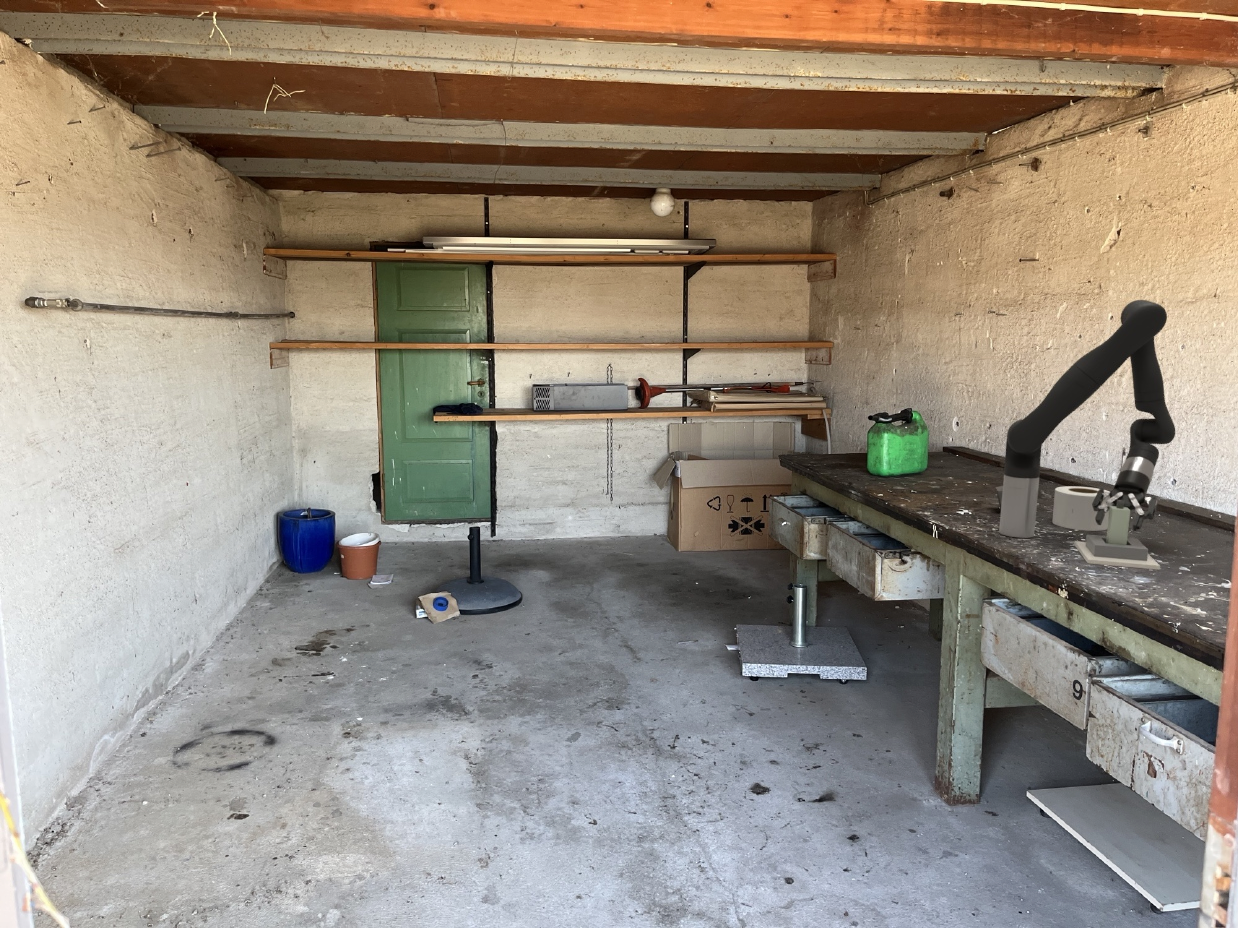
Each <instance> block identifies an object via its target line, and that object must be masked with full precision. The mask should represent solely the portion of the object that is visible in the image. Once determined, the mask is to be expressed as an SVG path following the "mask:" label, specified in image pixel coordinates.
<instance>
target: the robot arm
mask: <svg viewBox="0 0 1238 928" xmlns="http://www.w3.org/2000/svg"><path fill="white" fill-rule="evenodd" d="M1167 320H1168V313H1167V310H1166V309H1165V307H1163V305H1161V304H1158V303H1156V302H1154V301H1150V300H1147V299H1136V300H1133V301H1131V302H1129V303H1128V304H1126V305H1125V307H1124V308H1123V309H1122V311H1121V314H1120V323H1121V325H1120V326H1119V327H1118V329H1116V331H1115V332H1114V333H1113V334H1111V336H1110V337H1109V338H1107V339H1106V340H1105V341H1104V342H1102V343H1101V344H1099V345H1098V346H1096V347H1095V348H1093V349H1091V350H1090V351H1088V352H1087V353H1086V354H1083V356H1081V357H1080V358H1079V359H1077V360H1076V361H1074V363H1073V364H1072V365H1071V366H1070V367H1069V368H1068V369H1067V370H1066V371H1065V372H1064V373H1063V374H1062V375H1061V376H1060V378H1059V379H1057V381H1056V382H1055V384H1054V385H1053V386H1052V388H1050V390H1049V392H1048V393H1047V395H1046V396H1045V397H1044V399H1043V400H1042V401H1041V402H1040V404H1039V405H1037V407H1035V409H1033V410H1032V411H1031V412H1030V413H1029V414H1028V415H1026V416H1025V417H1024V418H1022V419H1019V420H1016V421H1014V422H1013V423H1011V425H1010V426H1009V427H1008V430H1007V433H1006V442H1005V443H1006V444H1005V457H1004V467H1003V468H1004V471H1003V485H1002V486H1003V493H1002V505H1001V509H1000V519H999V528H998V529H999V530H998V533H999V534H1001V535H1002V536H1006V537H1012V538H1023V539H1025V538H1026V539H1027V538H1033V537H1035V531H1036V530H1035V528H1036V527H1035V526H1036V518H1037V507H1038V506H1037V505H1038V495H1039V487H1040V486H1039V485H1040V484H1039V483H1040V473H1041V456H1042V454H1041V453H1042V446H1043V445H1044V442H1045V441H1046V440H1047V438H1049V436H1050V435H1052V433H1053V432H1054V431H1055V430H1056V428H1057V427H1058V426H1059V425H1060V424H1061V423H1062V422H1063V421H1064V420H1065V419H1067V417H1069V416H1070V415H1071V414H1072V413H1073V412H1074V411H1076V410H1077V409H1078V408H1079V407H1081V405H1083V404H1085V402H1086V401H1087V400H1089V398H1091V397H1092V396H1093V395H1094V394H1095V393H1096V392H1098V390H1099V389H1100V388H1101V387H1102V386H1103V385H1104V384H1105V383H1106V382H1107V380H1109V379H1110V378H1111V377H1112V376H1113V375H1114V374H1115V372H1116V371H1118V370H1119V369H1120V368H1121V367H1122V366H1123V364H1124V363H1125V362H1126V361H1127V360H1128V359H1129V358H1130V359H1129V361H1130V367H1131V375H1132V376H1131V378H1132V385H1133V386H1132V389H1133V398H1134V407H1135V409H1136V410H1137V411H1139V412H1142V413H1146V414H1149V415H1151V416H1152V418H1138V419H1136V420H1134V421H1133V422H1132V423H1131V425H1130V426H1129V436H1130V437H1129V450H1128V453H1127V455H1126V457H1125V460H1124V463H1123V464H1122V466H1121V468H1120V471H1119V474H1118V476H1117V479H1116V481H1115V484H1114V486H1113V488H1112V490H1111V491H1110V492H1106V491H1104V490H1105V489H1103V488H1098V489H1099V491H1098V493H1097V495H1096V497H1095V499H1094V501H1093V503H1092V506H1093V510H1094V511H1098V512H1097V514H1096V517H1095V520H1096V523H1097V524H1098V525H1101V524H1102V521H1103V519H1104V516H1105V513H1107V512H1108V511H1109V509H1110V506H1117V500H1123V501H1124V507H1127V508H1128V509H1129V510H1130V512H1131V511H1134V512H1135V514H1136V517H1135V519H1134V522H1133V523H1132V529H1133V531H1134V532H1138V530H1139V531H1140V530H1141V529H1142V527H1143V524H1144V522H1145V520H1149V521H1150V520H1154V519H1155V515H1156V511H1157V507H1158V504H1159V503H1158V498H1157V496H1156V495H1152V496H1151V497H1150V496H1149V497H1148V496H1146V495H1147V493H1148V490H1149V488H1150V485H1151V482H1152V480H1153V476H1154V472H1155V467H1156V464H1157V462H1158V459H1159V456H1160V451H1159V449H1158V448H1157V446H1155V445H1168V444H1169V443H1171V442H1172V441H1173V440H1174V438H1175V437H1176V427H1175V424H1174V421H1173V419H1172V417H1171V414H1170V412H1169V410H1168V407H1167V404H1166V400H1165V399H1166V398H1165V397H1166V396H1165V387H1164V380H1163V379H1164V378H1163V374H1162V370H1161V367H1160V364H1159V360H1158V357H1157V353H1156V347H1155V337H1156V336H1157V335H1158V334H1160V332H1161V331H1162V330H1163V328H1164V327H1165V326H1166V323H1167ZM1107 497H1110V499H1108V500H1107V501H1106V502H1105V503H1104V504H1102V502H1103V500H1105V499H1106V498H1107ZM1145 503H1147V506H1148V508H1147V511H1144V510H1143V509H1142V507H1141V506H1142V505H1144V504H1145ZM1101 504H1102V505H1101Z"/></svg>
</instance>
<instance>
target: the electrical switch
mask: <svg viewBox="0 0 1238 928" xmlns="http://www.w3.org/2000/svg"><path fill="white" fill-rule="evenodd" d="M995 492H996V496H997V500H998V505H999V509H1000V510H1001V505H1002V493H1003V485H1000V486H996V487H995Z"/></svg>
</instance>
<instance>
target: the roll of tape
mask: <svg viewBox="0 0 1238 928" xmlns="http://www.w3.org/2000/svg"><path fill="white" fill-rule="evenodd" d="M1099 489H1100V488H1096V487H1090V486H1074V485H1073V486H1071V485H1070V486H1069V485H1068V486H1059V487H1056V488H1054V496H1053V497H1054V498H1053V499H1054V500H1053V510H1052V513H1053V514H1052V524H1054V525H1056V526H1058V527H1062V528H1064V529H1069V530H1070V529H1071V530H1077V531H1089V532H1091V531H1092V532H1095V531H1096V532H1102V531H1107V528H1108V519H1109V511H1108V512H1107V513H1105V516H1104V519H1103V521H1102V524H1101V525H1098V524H1097V523H1096V520H1095V517H1096V514H1097V512H1098V511H1094V510H1093V506H1092V503H1093V501H1094V499H1095V497H1096V495H1097V493H1098V491H1099ZM1103 490H1104V491H1106V492H1111V491H1109V490H1106V489H1103ZM1108 499H1110V497H1107V498H1106V499H1105V500H1103V502H1102V504H1104V503H1105V502H1106V501H1107V500H1108ZM1102 504H1101V505H1102Z"/></svg>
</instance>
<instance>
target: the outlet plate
mask: <svg viewBox="0 0 1238 928" xmlns="http://www.w3.org/2000/svg"><path fill="white" fill-rule="evenodd" d="M1106 537H1107V535H1096V534H1086V536H1085V541H1078V540H1077V541H1076V540H1075V541H1074V544H1073V545H1074V546H1075V547H1076V549H1077V550H1078V552H1079V553H1080V554H1081V556H1082V557H1083V560H1085V561H1086V563H1087V564H1090V565H1102V566H1104V565H1105V566H1111V567H1112V566H1114V567H1115V566H1116V567H1126V568H1134V569H1135V568H1137V569H1138V568H1139V569H1146V570H1147V569H1148V570H1158V571H1160V570H1161V565H1160V564H1159V563H1158V562H1157V561H1156V560H1155V559H1154V558H1153V557H1152V556H1151V555H1150V554H1149V548H1147V547H1146V546H1145V544H1143V543H1142V542H1141V541H1140V540H1139V539H1138V538H1134V537H1127V545H1119V544H1107V543H1106Z"/></svg>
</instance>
